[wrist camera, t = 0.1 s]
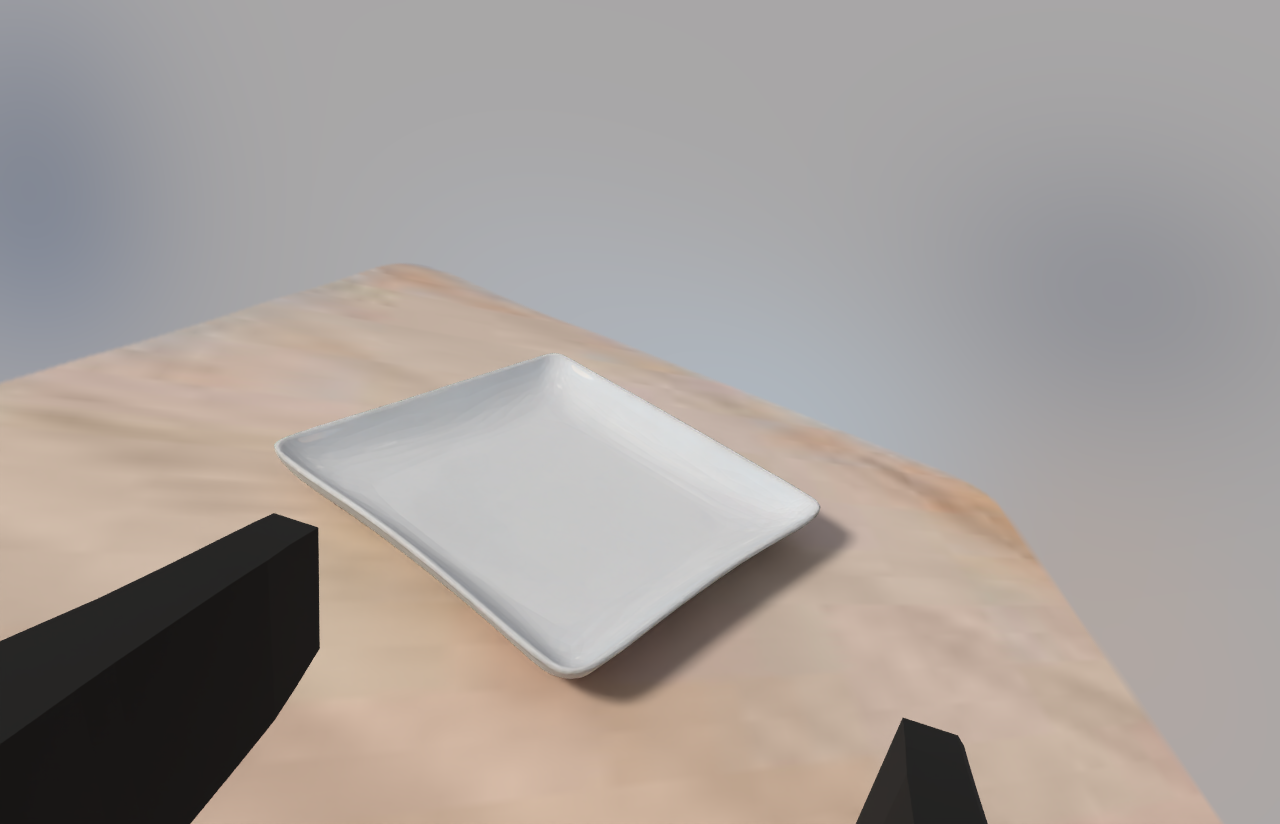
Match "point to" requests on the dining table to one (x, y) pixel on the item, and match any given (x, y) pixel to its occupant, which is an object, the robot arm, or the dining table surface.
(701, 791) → the dining table surface
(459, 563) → the salad plate
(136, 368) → the dining table surface
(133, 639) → the robot arm
